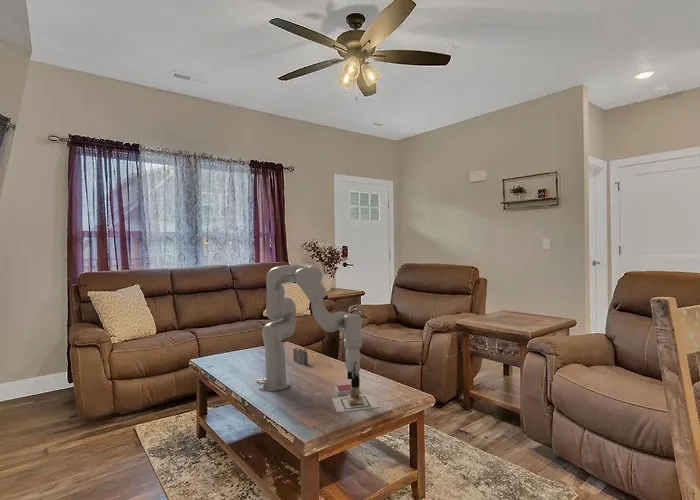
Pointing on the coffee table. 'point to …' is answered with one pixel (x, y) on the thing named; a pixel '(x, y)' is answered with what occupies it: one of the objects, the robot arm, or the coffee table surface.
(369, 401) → the marked card
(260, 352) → the coffee table surface
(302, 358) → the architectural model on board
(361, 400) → the stamp
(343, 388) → the ink pad
